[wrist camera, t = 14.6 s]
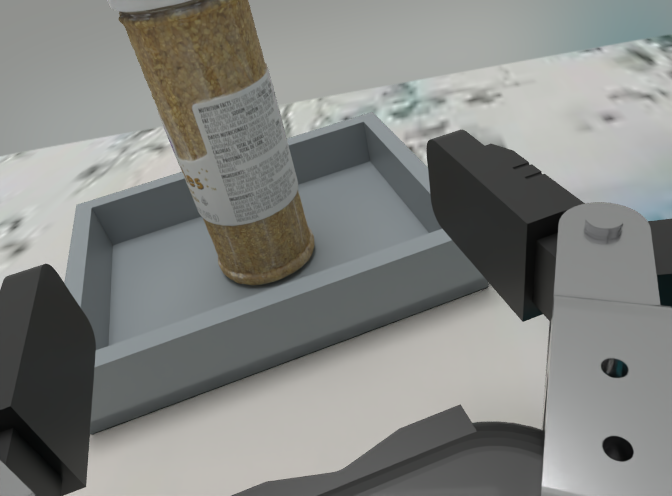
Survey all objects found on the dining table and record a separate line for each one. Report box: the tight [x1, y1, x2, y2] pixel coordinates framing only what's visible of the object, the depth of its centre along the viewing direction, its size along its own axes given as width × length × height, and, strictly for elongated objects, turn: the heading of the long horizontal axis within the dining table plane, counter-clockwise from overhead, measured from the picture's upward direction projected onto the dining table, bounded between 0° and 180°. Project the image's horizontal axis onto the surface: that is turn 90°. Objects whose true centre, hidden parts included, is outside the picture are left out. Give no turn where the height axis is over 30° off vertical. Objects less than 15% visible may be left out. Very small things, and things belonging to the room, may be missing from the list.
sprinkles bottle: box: [107, 0, 315, 285], centre depth 21 cm, size 5×5×14 cm
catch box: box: [64, 112, 488, 434], centre depth 24 cm, size 16×12×3 cm
